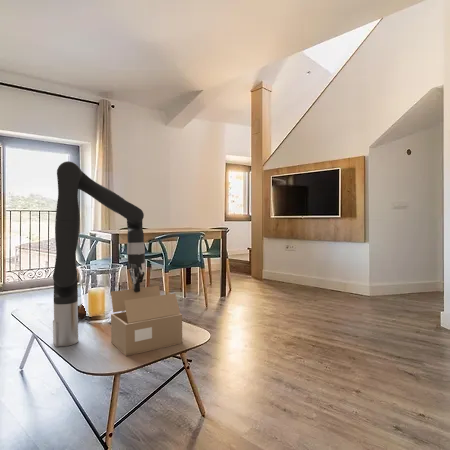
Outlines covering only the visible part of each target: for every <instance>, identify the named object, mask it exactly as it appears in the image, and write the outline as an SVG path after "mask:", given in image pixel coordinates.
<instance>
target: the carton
mask: <svg viewBox="0 0 450 450" xmlns="http://www.w3.org/2000/svg"><path fill="white" fill-rule="evenodd" d="M110 332H111V333H110V335H111V336H110V339H111V344H112V345H114V346H115V348H117V350H119V351H120V352H121V353H122V354H123V355H124V356H125V357H129V356H133V355H137V354H141V353H146V352H150V351H154V350H158V349H164V348H166V347H167V348H168V347H172V346H175V345H180V344H183V314H182V313H180V314H176V315H171V316H165V317H160V318H154V319H148V320H143V321H137V322H132V323H128V320H127V315H126V311H125V312H121V313H114V314H111V317H110Z"/></svg>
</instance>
